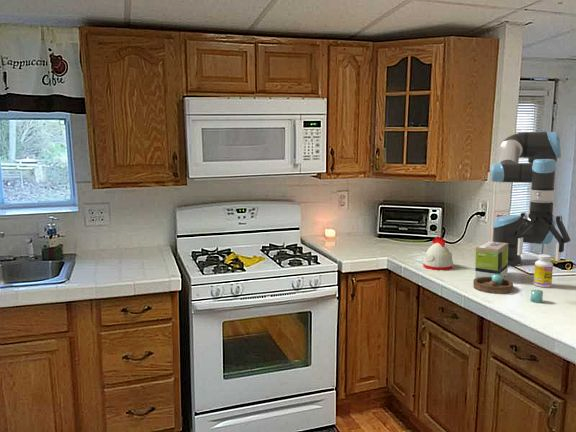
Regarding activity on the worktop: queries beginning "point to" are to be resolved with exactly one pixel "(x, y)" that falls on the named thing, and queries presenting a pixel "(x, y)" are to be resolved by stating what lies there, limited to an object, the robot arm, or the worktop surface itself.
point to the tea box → (491, 259)
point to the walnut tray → (492, 285)
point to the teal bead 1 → (497, 279)
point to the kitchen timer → (438, 256)
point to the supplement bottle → (543, 271)
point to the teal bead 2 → (536, 296)
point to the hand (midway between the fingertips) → (538, 257)
